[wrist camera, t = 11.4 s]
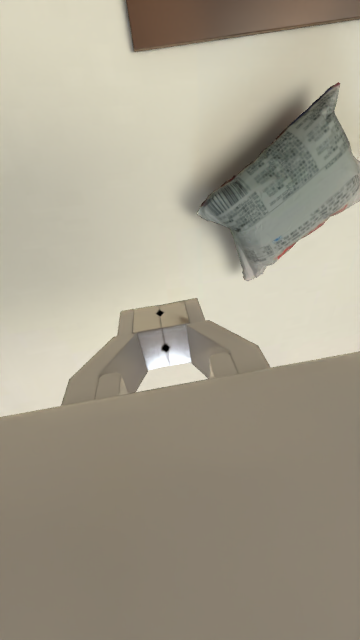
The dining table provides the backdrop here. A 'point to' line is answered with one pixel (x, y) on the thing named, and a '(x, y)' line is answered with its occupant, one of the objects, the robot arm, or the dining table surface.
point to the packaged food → (288, 188)
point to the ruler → (227, 18)
